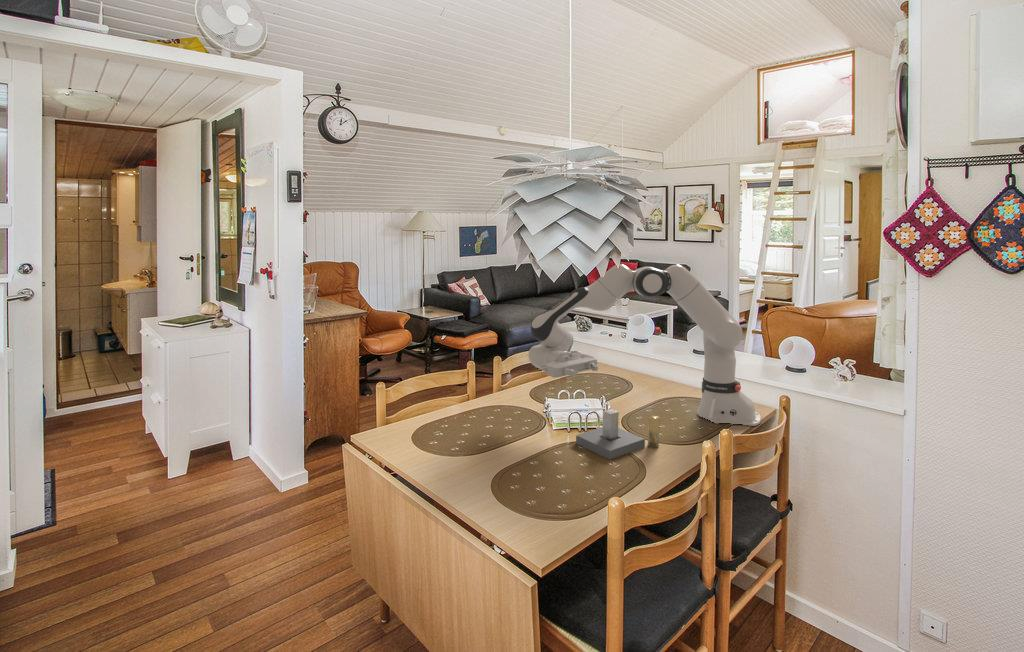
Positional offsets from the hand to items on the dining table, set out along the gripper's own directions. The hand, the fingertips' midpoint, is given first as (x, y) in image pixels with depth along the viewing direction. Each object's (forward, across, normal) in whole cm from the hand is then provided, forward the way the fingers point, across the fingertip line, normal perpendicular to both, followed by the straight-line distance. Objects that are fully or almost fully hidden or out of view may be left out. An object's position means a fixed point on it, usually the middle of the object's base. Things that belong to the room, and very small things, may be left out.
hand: (586, 371), depth 195 cm
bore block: (+12, 0, +23) cm, 26 cm away
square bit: (+12, 0, +23) cm, 26 cm away
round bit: (+21, +11, +23) cm, 33 cm away
